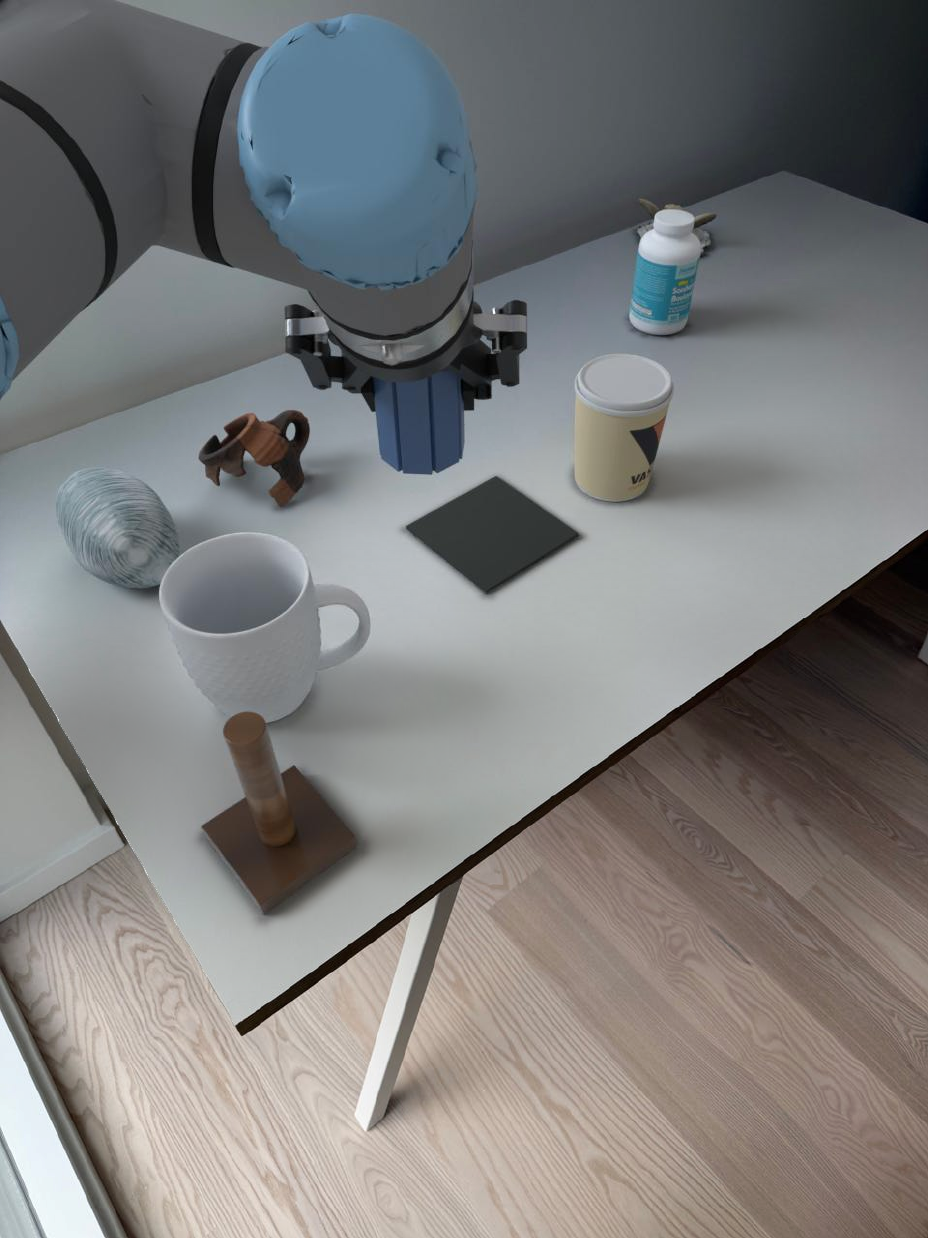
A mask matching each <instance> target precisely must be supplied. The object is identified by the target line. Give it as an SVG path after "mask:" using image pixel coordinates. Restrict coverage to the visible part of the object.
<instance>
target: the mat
mask: <svg viewBox="0 0 928 1238" xmlns="http://www.w3.org/2000/svg"><path fill="white" fill-rule="evenodd" d="M405 530H407V531H408V532H409V533H411V534H412V535H413V536H414V537H415V538H417V539H418V540H419V541H420V542H422V543H423V544H424V545H425V546H427V547H428V548H429V549H431V551H433V552H434V553H435V554H437V556H439V557H440V558H442V559H443V560H444V561H445V562H447V563H448V565H450V566H451V567H453V568H454V569H455V570H456V571H458V572H459V573H460V574H462V575H463V576H464V577H465V578H466V579H467V580H469V581H470V582H471V583H473V584H474V585H475V586H476V587H478V588H479V589H480V590H481V591H483V592H484V593H485V594H488V593H490V592H492V591H493V590H495V589H497V588H498V587H500V586H502V585H503V584H505V583H506V582H507V581H509V580H511V579H512V578H514V577H516V576H517V575H519V574H521V573H522V572H523V571H525V570H527V569H528V568H530V567H532V566H533V565H535V564H536V563H538V562H539V561H541V560H542V559H544V558H546V557H547V556H549V555H550V554H552V553H554V552H555V551H557V550H559V549H560V548H561V547H563V546H565V545H567V544H568V543H569V542H571V541H573V540H574V539H576V538H577V537H579V532H578V531H576V530H575V529H573V528H572V527H571V526H569V525H568V524H566V523H564V522H563V521H562V520H560V519H559V518H557V517H556V516H555V515H553V514H552V513H550V512H549V511H547V510H546V509H544V507H542V506H540V505H539V504H537V503H536V502H534V501H533V500H532V499H530V498H529V497H527V496H526V495H525V494H523V493H522V492H520V491H519V490H517V489H516V488H514V487H513V486H512V485H510V484H509V483H507V482H506V481H505V480H504V479H501V478H500V477H498V475H495V476H493V477H491V478H489V479H488V480H486V481H484V482H483V483H481V484H479V485H477V486H475V487H473V488H471V489H469V490H468V491H466V492H464V493H463V494H461V495H459V496H457V497H455V498H454V499H452V500H450V501H448V502H447V503H445V504H443V505H441V506H439V507H437V508H435V509H434V510H432V511H430V512H428V513H427V514H424V515H423V516H421V517H419V518H417V519H416V520H414V521H412V522H410V523H408V524H407V525H405Z"/></svg>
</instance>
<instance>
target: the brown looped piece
mask: <svg viewBox="0 0 928 1238" xmlns="http://www.w3.org/2000/svg"><path fill="white" fill-rule="evenodd" d="M290 424H293V426H294V434H293V435H294V436H293V438H292V439H291V440H290V439H289V437H287V431H288V428H289V426H290ZM223 430H224V432H225V433H226V434H227V435H226V436H225V437H224V438H223V439H222V440H221V441H220V439H219V437H218V435H217V434H214V435H212V436H211V437H210V438H209V439H208V440H207V441H206V443H204V445H203V446H202V447H201V449H200V450H199V452H198V460H199V462H201V463H202V465H204V473H205V477H206V478H207V479H209V480H210V481H211V482H213V484H214V485H215V486H216V487H220V486H221V482H220V481H221V480H220V475H221V471H223V472H224V473H226V474H229V475H232V476H233V477H235V478H240V477H244V476H246V475H247V472H246V469H245V468H244V456H245V454H246V452H247V453H248V454H249V455H250V456H251V457H252V459H253V461H254V462H255V463H256V464H257V465H259V466H261V467H264V468H267V467H271V469H273V470H274V471H275V472H276V473H278V475H279V477H280V478H279V480H278V481H277V482H276V483H275V484H274V485H273V486H272V487H271V488H269V490H268V494H269V495H270V497H271V498H272V499H274V501H275V503H276V504H277V506H278V507H283V506H284V505H285V504H287V503H288V502H289V501H291V500H292V499H293V497H294V496H296V494H297V493H298V492H299V491H300V489H302V488H303V486H304V485H305V482H306V476H305V473H304V471H303V467H302V464H301V456H302V453H303V452H304V450H305V448H306V446H307V445H308V442H309V439H310V433H311V428H310V423H309V419H308V417H306V416H305V415H304V413H303V412H302V411H299V410H297V409H287V410H284V411H282V412H280V413H279V414H278V415H276V416H274V417H273V418H271V419H270V420H266V421H264V420H261V421H260V419H259V418H258V417H257V415H256V414H255V413H253V412H247V413H245V414H243V415H240V416H238V417H237V418H234V419H233V420H232V421H230V422H229V423H227V424H226V425H224V426H223Z"/></svg>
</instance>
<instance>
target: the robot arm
mask: <svg viewBox="0 0 928 1238" xmlns="http://www.w3.org/2000/svg"><path fill="white" fill-rule="evenodd" d="M477 167H478V166H477V162H476V159H475V155H474V150H473V146H472V143H471V139H470V132H469V124H468V118H467V112H466V108H465V104H464V101H463V98H462V96H461V94H460V91H459V89H458V87H457V85H456V82H455V80H454V79H453V77H452V75H451V73H450V71H449V69H448V68H447V66H446V64H445V63H444V62H443V61H442V60H441V58H440V57H439V56H438V55H437V54H436V53H435V51H434V50H433V49H431V47H430V46H429V45H427V44H426V43H425V42H424V41H422V40H421V39H420V38H419V37H418V36H416V35H415V34H413V33H412V32H411V31H409V30H407V29H406V28H405V27H403V26H400V25H399V24H396V23H394V21H393V22H392V21H390V20H388V19H384V18H382V17H378V16H374V15H369V14H362V13H361V14H360V13H347V14H346V15H343V16H338V17H333V18H328V19H324V20H320V21H306V22H304V23H302V24H300V25H298V26H296V27H293V28H292V29H289V30H288V31H287V32H286V33H285V34H283V35H282V36H281V37H279V38H278V39H276V41H274V42H273V43H272V45H270V46H263V47H262V46H259V45H256V44H253V43H250V42H245V41H242V40H239V39H236V38H233V37H230V36H227V35H224V34H221V33H218V32H215V31H212V30H209V29H205V28H202V27H199V26H196V25H192V24H190V23H186V22H184V21H180V20H178V19H175V18H171V17H168V16H165V15H163V14H158V13H156V12H153V11H150V10H146V9H143V8H140V7H137V6H134V5H131V4H128V3H125V2H123V1H119V0H0V401H1V400H2V398H3V397H4V396H5V395H6V394H7V393H8V391H9V390H10V389H11V388H12V384H13V381H15V379H16V378H17V377H18V376H19V375H20V374H22V372H23V371H24V370H25V369H26V368H27V367H28V366H29V365H30V364H31V363H32V362H33V361H34V360H35V359H36V358H37V357H38V356H39V355H40V354H41V353H42V352H43V351H44V350H45V349H46V348H47V347H48V346H49V345H50V344H51V343H52V342H53V340H55V338H56V337H57V336H59V335H60V334H61V333H62V331H63V330H64V329H65V328H66V327H67V326H68V325H69V324H70V323H72V321H73V320H74V319H75V318H77V316H78V315H79V314H80V313H82V312H83V311H84V310H85V309H86V308H88V307H89V306H90V305H91V304H92V303H94V302H95V301H97V300H98V299H99V298H100V297H101V296H102V295H103V294H104V293H105V292H106V291H107V290H108V289H109V288H110V287H111V286H113V284H115V282H117V280H119V278H121V277H122V276H123V274H125V273H126V272H127V271H128V270H129V269H130V268H131V267H132V266H133V265H134V264H135V263H136V262H137V261H138V260H139V259H140V258H141V257H142V256H143V255H144V254H145V253H146V252H147V251H148V250H149V249H150V248H151V247H153V246H158V247H162V248H165V249H168V250H171V251H175V252H179V253H182V254H185V255H187V256H188V255H189V256H192V257H195V258H199V259H201V260H206V261H208V262H212V263H216V264H219V265H222V266H225V267H228V268H232V269H238V270H242V271H245V272H247V273H248V272H249V273H251V274H255V275H257V276H262V277H264V278H268V279H271V280H274V281H277V282H281V283H284V284H287V285H291V286H293V287H297V288H300V289H303V290H306V291H307V293H308V295H309V296H310V298H311V299H312V301H313V302H314V304H315V305H316V307H317V309H318V310H311V309H309V308H308V307H306V306H304V305H300V304H299V303H292V304H288V305H285V306H284V339H285V340H284V349H285V353H286V354H288V355H290V356H292V357H294V358H296V359H298V360H299V361H300V363H301V364H302V367H303V369H304V371H305V373H306V375H307V377H308V379H309V381H310V383H311V386H312V388H315V389H317V390H319V391H325V390H328V389H332V383H338V384H339V383H340V384H341V389H342V390H344V391H347V393H350V394H361V396H362V398H363V399H364V401H365V403H366V404H367V406H368V408H369V409H370V412H371V413H376V410H375V401H374V398H375V397H374V387H373V377H375V378H378V379H381V380H384V381H389V382H398V383H404V382H414V381H418V380H422V379H425V378H428V377H430V376H432V375H434V374H436V373H438V372H445V371H451V372H452V373H454V374H455V375H457V376H458V377H460V378H461V379H463V400H464V412H465V411H468V412H469V411H474V412H475V400H477V401H486V400H492V399H493V385H492V383H493V381H496V380H497V381H498V380H500V385H502V386H506V387H507V388H511V387H512V388H513V387H516V386H518V385H520V355H521V354H522V353H523V352H524V351H526V350H527V349H528V303H527V302H526V301H522V300H519V299H513V300H511V301H507V302H506V303H504V304H503V305H502V307H500V306H499V307H498V306H497V307H493V308H491V312H483V309H482V307H481V305H480V304H479V303H478V302H476V301H475V300H474V299H475V297H474V293H475V289H474V282H475V281H474V280H475V257H474V256H475V254H474V253H475V246H474V240H473V234H474V213H475V205H476V201H477V198H478V190H479V189H478V180H477V177H476V170H477ZM483 336H484V337H485V338H486V340H487V341H490V342H491V347H490V346H488V345H487V344H486V342H484V341H483V340H482V339H481V338H482V337H483ZM329 342H330V343H332V344H333V345H335V346H337V347H338V348H339V349H340V351H341V352H340V353H341V355H340V356H339V355H332V348H331V346H330V343H329Z"/></svg>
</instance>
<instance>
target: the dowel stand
mask: <svg viewBox="0 0 928 1238" xmlns="http://www.w3.org/2000/svg"><path fill="white" fill-rule="evenodd" d="M222 734H223V738H224V741H225V743H226V746H227V749H228V752H229V755H230V757H231V760H232V763H233V767H234V768H235V772H236V774H237V777H238V780H239V782H240V785H241V789H242V792H243V795H244V796H245V797H243V798H241V799H240V800H238V801H237V802H236V803H234V804H233V805H231V806H229V807H228V808H227V809H225V810H223V811H222V812H221V813H218V814H217V815H215V816H214V817H213V818H211V819H210V820H208V821H207V822H205V823H204V824H202V825H201V826H200V827H201V830H202V832H203V835H204V837H205V838H206V840H207V841H208V842H209V844H210V845H211V847H213V849H214V851H215V852H216V854H217V855H218V856H219V857H220V859H221V860H222V862H223V863H224V864H225V865H226V867H227V868H228V869H229V871H230V872H231V873H232V875H233V876H234V878H235V879H236V880H237V882H238V883H239V884H240V886H241V887H242V889H243V890H244V891H245V892H246V895H248V897H249V898H250V899H251V900H252V902H253V904H254V905H255V906H256V907H257V909H258V911H260V913H261V914H262V915H263V916H265V915H266V914H267V913H269V912H271V910H273V909H274V908H276V907H277V906H278V905H279V904H281V903H282V902H284V901H285V900H287V899H288V898H289V897H291V896H292V895H293V894H294V893H296V892H298V891H299V890H300V889H301V888H303V887H304V886H305V885H307V884H308V883H309V882H311V881H312V880H313V879H315V878H317V877H318V876H319V875H321V874H322V873H323V872H325V871H326V870H328V868H330V867H331V866H333V865H334V864H336V863H337V862H338V861H340V860H341V859H342V858H344V857H345V856H347V854H350V853H351V852H352V851H353V850H355V849H356V848H357V847H358V841H357V836H356V834H355V833H354V832H353V831H352V830H351V828H349V826H348V825H347V824H346V823H345V822H344V820H343V819H342V818H341V817H340V816H339V815H338V814H337V812H335V810H334V809H333V808H332V807H331V805H330V804H329V803H328V802H327V801H326V800H325V799H324V797H323V796H322V795H321V793H320V792H318V791H317V790H316V788H315V787H314V786H313V785H312V784H311V783H310V781H309V780H308V779H307V778H306V777H305V775H304V774H303V773H302V772H301V771H300V769H298V767H296V765H295V764H294V765H292V766H290V767H288V768H287V769H285V771H283V772H281V771H280V767H279V763H278V761H277V757H276V753H275V749H274V747H273V743H272V740H271V737H270V736H271V735H270V733H269V730H268V726H267V723H265V720H264V718H263V717H262V716H261V715H259V714H258V713H255V712H250V711H246V712H240V713H238V714H235V715H234V716H232V717H231V716H230V717H229V718H228V719H227V720H226V722H225V723H224V726H223V728H222Z"/></svg>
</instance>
